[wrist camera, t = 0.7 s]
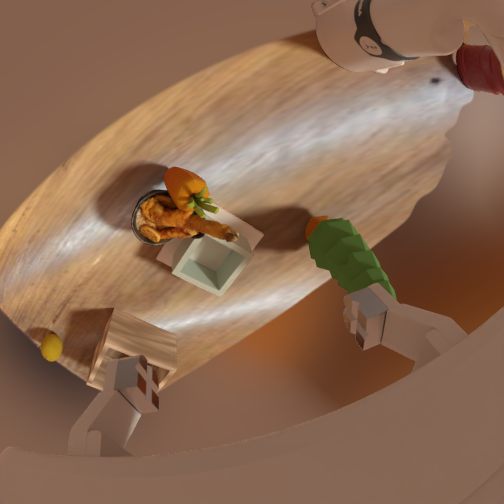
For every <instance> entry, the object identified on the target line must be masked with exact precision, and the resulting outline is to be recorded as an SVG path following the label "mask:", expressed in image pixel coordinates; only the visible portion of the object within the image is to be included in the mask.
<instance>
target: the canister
mask: <svg viewBox="0 0 504 504" xmlns="http://www.w3.org/2000/svg"><path fill="white" fill-rule="evenodd" d="M456 63H457V68H458V72H459V74H460V77H461V79H462V81H463V82H464V84H465V85H466V86H467V87H468V88H469V89H471V90H474V91H478V92H481V91H483V92H488V93H494V94H496V95H498V94H500V93H501V94H503V95H504V69H503V67H502V65H501V63H500V62H499V60H498V58H497V56H496V55H495V53H494V51H493V49H492V48H491V47H490V46H488V45H484V46H483V45H463V46H460V48H459V49H458V50H457V53H456Z"/></svg>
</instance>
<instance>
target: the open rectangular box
mask: <svg viewBox="0 0 504 504" xmlns="http://www.w3.org/2000/svg"><path fill="white" fill-rule="evenodd" d="M205 204H208V203H205ZM209 205H212V206H215V207H218V208H219V211H218V213H217V214H215V213H211V212H208V211H206V210H204V209H203V211H204V213H205V214H206V217H205V219H206V220H212V221H217V222H219V223H220V224H227V225H228V226H230V227H232V228H233V229H234V230H236V231H237V232H238V233H239V237H238V239H237V241H233V242H226V240H222V239H218V238H214V237H212V236H210V235H208V234H205V236H204V237H203V238H200V239H195V238H191V237H189V238H182V239H179V238H178V237H176V238H174V239H173V240H171V241H170V242H168V243H165V244H164V245H163V247H162V249H161V250H160V252H159V254H158V255H157V258H156V259H157V260H158V261H160V262H162V263H164V264H166V265H168V266H170V267H172V274H174V275H176V276H178V277H180V278H182V279H184V280H186V281H188V282H190V283H192V284H194V285H196V286H198V287H200V288H202V289H204V290H206V291H208V292H210V293H213V294H215V295H217V296H219V297H221V296H222V295H223V294H224V293H225V291H226V290H227V289H228V288H229V286H230V285H231V284H232V282H233V281H234V280H235V279H236V277H237V276H238V275H239V274H240V272H241V271H242V270H243V268H244V267H245V266H246V265H247V263H248V262H249V261H250V260H251V258H252V257H253V256H254V254H253V252H252V250H253V249H254V248H255V246H256V245H257V244H258V242H259V241H260V240H261V239H262V237H263V236H264V234H263V233H262V232H261V231H259V230H257V229H256V228H254V227H253V226H251V225H249V224H248V223H246V222H245V221H243V220H241V219H240V218H238V217H237V216H235V215H233V214H232V213H230V212H229V211H227V210H225V209H224V208H222V207H221V206H219V205H217V204H216V203H214V202H213V203H212V204H209Z"/></svg>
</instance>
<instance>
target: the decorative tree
mask: <svg viewBox="0 0 504 504" xmlns="http://www.w3.org/2000/svg"><path fill="white" fill-rule="evenodd" d="M305 237H306V239H307V240H308V244H309V250H310V255H311V258H312V259H315V260H316V265H317V267H319V268H323V269H326V270H329V271H330V273H331V276H332V278H334V279H337V280H338V285H339V286H341V287H342V288H344V289H345V290H347V291H348V294H350V293H352V292H355V291H358V290H360V289H363V288H365V287H368V286H370V285H372V284H375V283H379V284H380V285H381V286H382V287H383V288H384V289H385V290H386V291H387V292H388V293H389V294H390V295H391V296H392V297H393V298H394V299H395V300H396V295H395V291H394V289H393V288H392V286H391V285H390V283H389V280H388V276H387V275H386V274H385V273H384V272H383V270H382V269H381V267H380V264H379V261H378V260H377V258H376V257H375V255H374V253H373V252H372V250H370V249H369V247H368V246H367V244H366V243H365V241H364V240H363V238H362V237H361V235H360V234H358V233H357V231H356V230H355V228H354V227H353V225H352V224H351V223H350V221H349V220H343V219H342V218H339V219H330V220H329V218H328V216H321V217H312V218H310V220H309V222H308V224H307V226H306V228H305ZM396 301H397V300H396Z"/></svg>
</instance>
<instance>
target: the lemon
mask: <svg viewBox="0 0 504 504" xmlns="http://www.w3.org/2000/svg"><path fill="white" fill-rule="evenodd" d="M62 349H63V345H62V341H61V339H60V338H59V337H58V336H57V335H55V334H48V335H46V336H45V337H44V338H43V340H42V343H41V353H42V355H43V357H44V358H45V359H46V360H48V361H55V360H57V359H58V358H59V357H60V355H61V353H62Z"/></svg>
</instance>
